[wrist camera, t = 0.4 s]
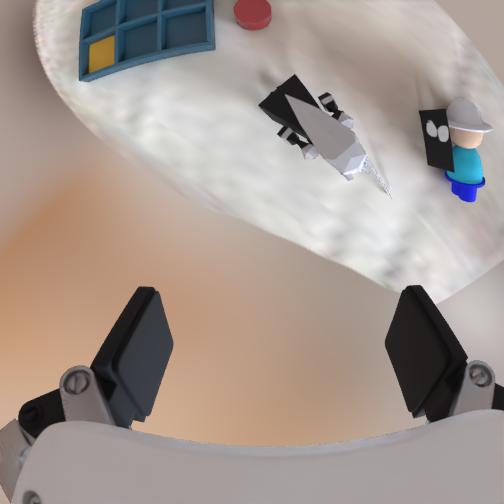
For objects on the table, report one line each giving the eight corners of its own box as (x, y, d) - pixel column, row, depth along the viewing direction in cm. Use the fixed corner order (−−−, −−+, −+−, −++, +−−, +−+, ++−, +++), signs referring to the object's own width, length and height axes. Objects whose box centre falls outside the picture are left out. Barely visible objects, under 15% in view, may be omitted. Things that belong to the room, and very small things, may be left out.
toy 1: (307, 164, 44) (361, 231, 38) (242, 99, 28) (319, 182, 21) (339, 137, 41) (399, 200, 35) (289, 59, 25) (385, 128, 19)
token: (235, 5, 24) (233, -3, 22) (269, 3, 24) (270, -5, 21) (237, 31, 26) (234, 24, 24) (272, 29, 26) (272, 22, 23)
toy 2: (422, 185, 36) (415, 94, 28) (469, 180, 34) (467, 96, 26) (448, 212, 29) (447, 102, 21) (498, 204, 27) (503, 106, 18)
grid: (91, 12, 23) (82, 9, 21) (212, -24, 21) (209, -32, 19) (88, 81, 29) (78, 81, 27) (215, 49, 28) (211, 44, 25)
